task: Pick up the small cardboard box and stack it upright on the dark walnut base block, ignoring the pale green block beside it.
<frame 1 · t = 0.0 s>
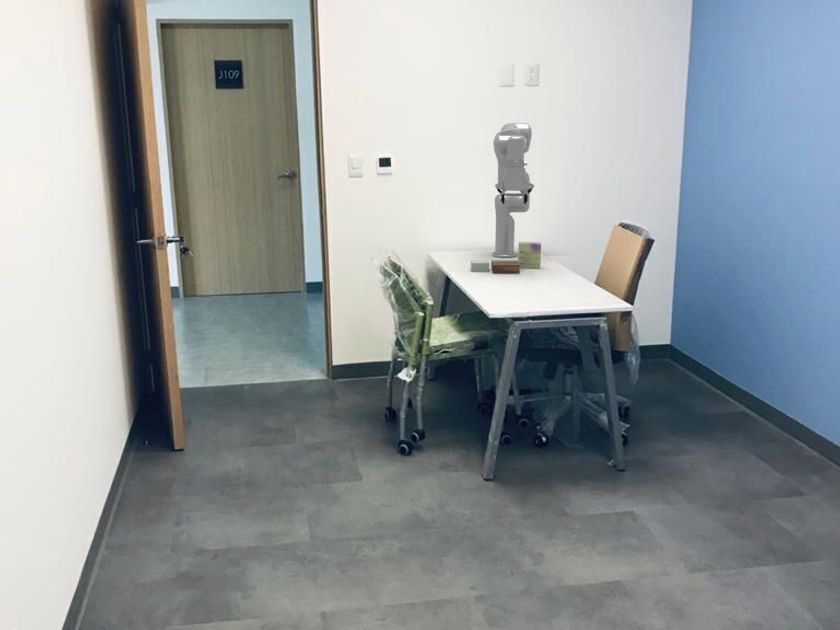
hand: (514, 203, 359), 31 cm above the table, fingers open, 9 cm apart
box: (528, 268, 378), on the table
walnut base: (505, 271, 368), on the table
green block: (479, 270, 370), on the table
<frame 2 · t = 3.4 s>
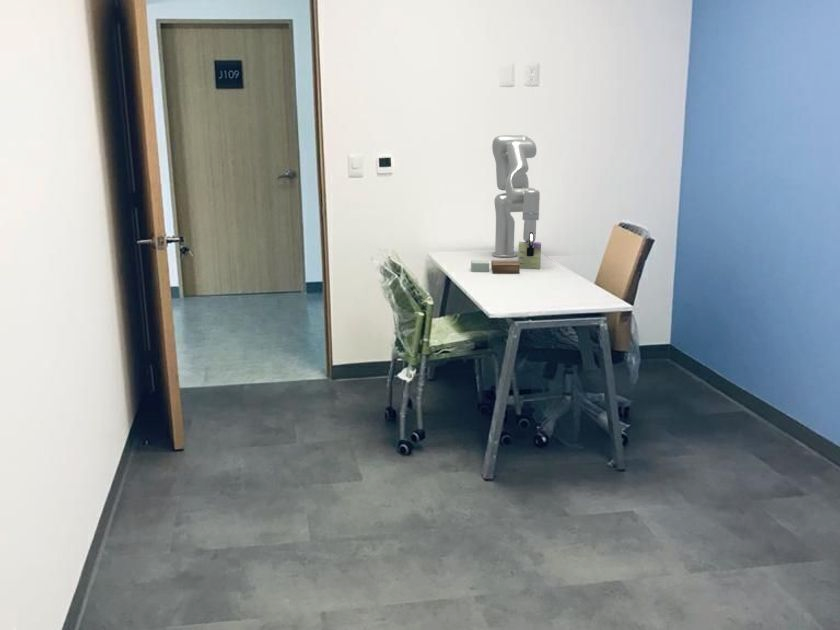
hand: (529, 254, 376), 6 cm above the table, fingers closed on box, 5 cm apart
box: (528, 267, 378), on the table, touching gripper
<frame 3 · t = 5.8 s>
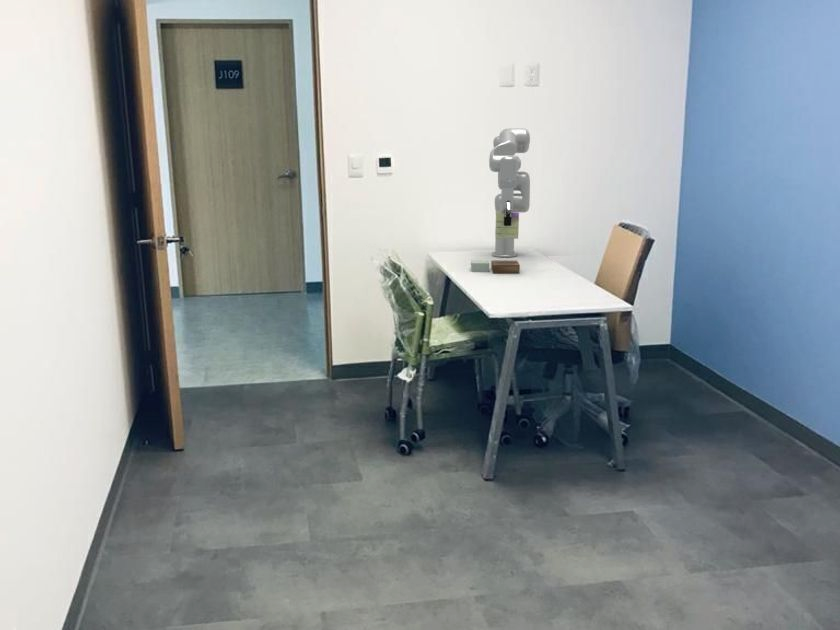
hand: (506, 224, 363), 22 cm above the table, fingers closed on box, 5 cm apart
box: (506, 238, 365), point 15 cm above the table, touching gripper
when the fingers open (11 cm above the table, at t = 8.6 s): box moves 1 cm, resting on walnut base.
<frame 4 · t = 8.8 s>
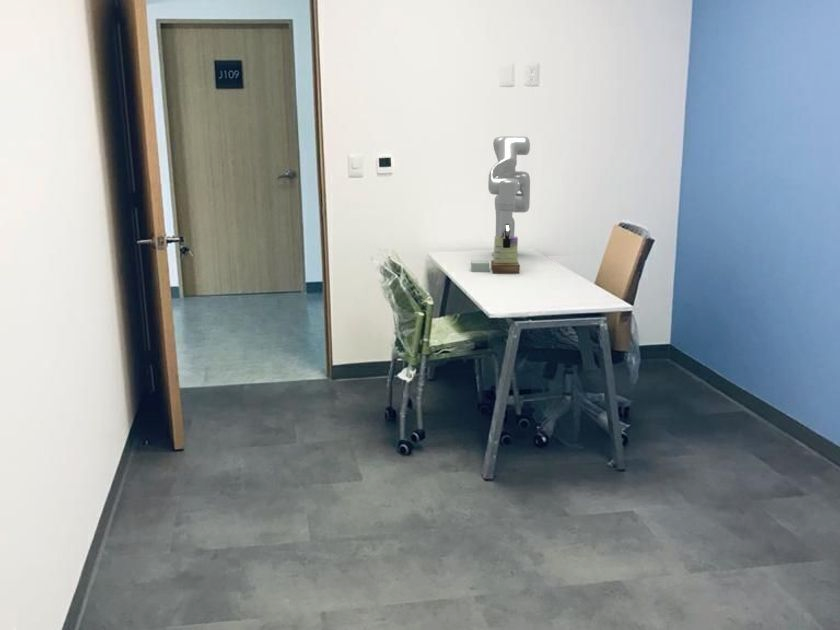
hand: (505, 246, 365), 12 cm above the table, fingers open, 8 cm apart
box: (505, 262, 368), point 4 cm above the table, touching walnut base
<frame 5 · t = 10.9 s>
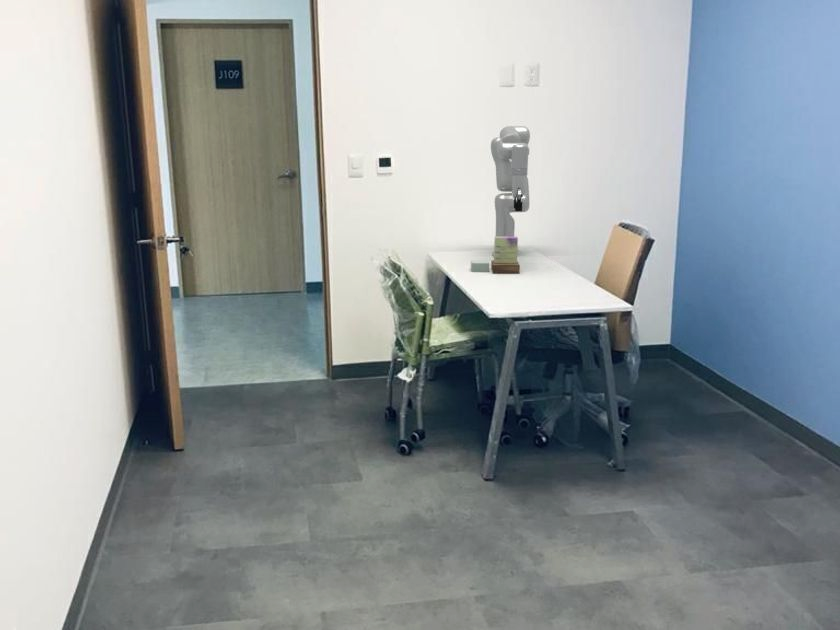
hand: (517, 209, 370), 27 cm above the table, fingers open, 9 cm apart
nothing on the table moved.
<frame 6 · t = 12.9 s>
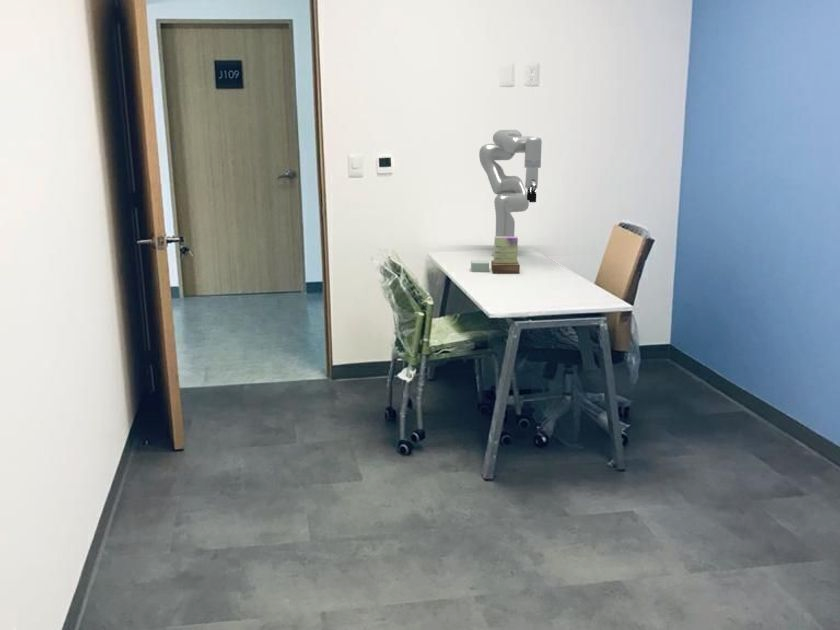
hand: (531, 201, 378), 30 cm above the table, fingers open, 9 cm apart
nothing on the table moved.
at the end: box inside the target area on the walnut base (0.6 cm from its centre), point 3.8 cm above the walnut base's base; box tilted 0°; box touching walnut base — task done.
